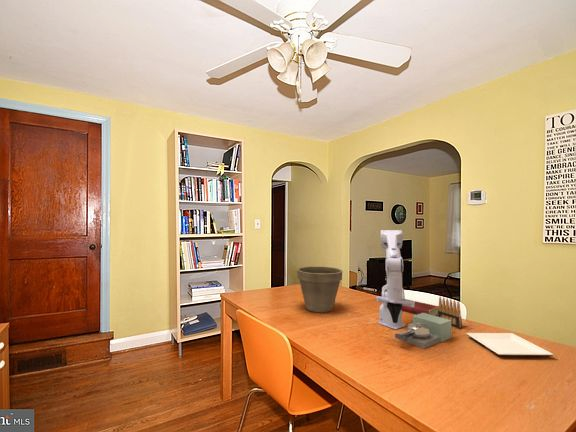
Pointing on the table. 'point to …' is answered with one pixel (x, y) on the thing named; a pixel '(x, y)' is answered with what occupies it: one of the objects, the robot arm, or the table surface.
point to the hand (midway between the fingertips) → (395, 322)
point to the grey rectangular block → (431, 330)
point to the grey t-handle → (415, 332)
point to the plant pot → (319, 287)
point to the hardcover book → (421, 308)
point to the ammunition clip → (450, 312)
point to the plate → (508, 344)
